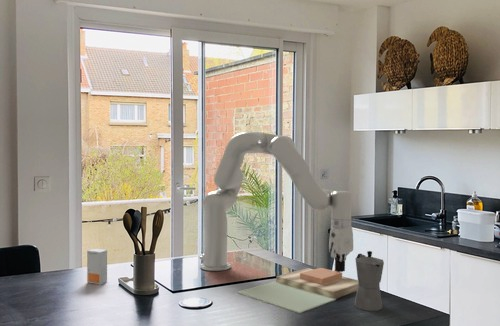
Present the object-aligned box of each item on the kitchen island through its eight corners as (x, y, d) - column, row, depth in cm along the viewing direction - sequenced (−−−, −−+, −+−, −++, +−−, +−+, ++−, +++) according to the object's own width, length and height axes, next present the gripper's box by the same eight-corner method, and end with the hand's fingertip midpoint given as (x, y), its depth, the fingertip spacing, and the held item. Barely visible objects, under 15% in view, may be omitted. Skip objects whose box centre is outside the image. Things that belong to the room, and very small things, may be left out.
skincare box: (86, 282, 191) (86, 250, 190) (94, 279, 194) (94, 248, 194) (100, 284, 188) (100, 252, 188) (107, 281, 192) (107, 249, 192)
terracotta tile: (299, 278, 190) (300, 273, 190) (320, 272, 199) (320, 267, 198) (321, 284, 183) (322, 278, 183) (342, 278, 192) (342, 272, 191)
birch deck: (276, 282, 193) (276, 276, 193) (307, 274, 206) (307, 267, 206) (333, 299, 175) (333, 291, 175) (363, 288, 187) (363, 281, 187)
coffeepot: (391, 312, 163) (393, 255, 162) (363, 314, 160) (365, 256, 159) (369, 297, 178) (370, 244, 177) (343, 298, 175) (344, 245, 174)
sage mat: (237, 292, 181) (237, 291, 181) (274, 282, 194) (274, 281, 194) (299, 313, 161) (299, 312, 161) (336, 300, 174) (336, 298, 174)
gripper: (337, 226, 190) (336, 276, 191) (360, 222, 201) (359, 269, 202) (321, 224, 195) (320, 272, 196) (344, 219, 206) (343, 265, 207)
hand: (340, 270), depth 199 cm, fingers closed
